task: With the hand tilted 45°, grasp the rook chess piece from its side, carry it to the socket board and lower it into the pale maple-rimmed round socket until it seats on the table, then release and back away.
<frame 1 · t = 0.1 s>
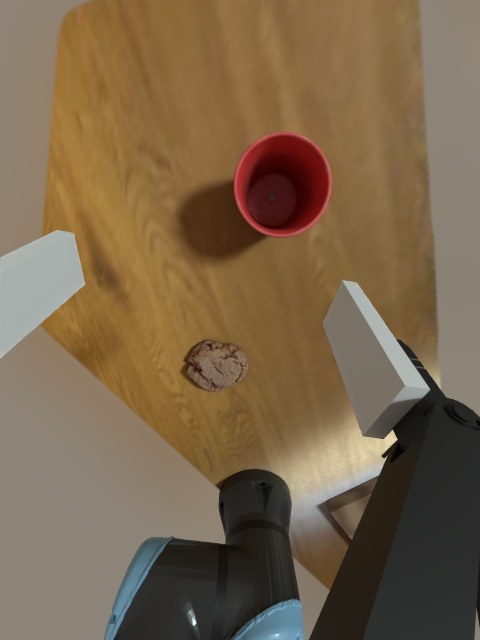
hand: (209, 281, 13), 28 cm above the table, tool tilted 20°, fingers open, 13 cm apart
cookie: (218, 362, 46), on the table
socket board: (373, 512, 56), on the table
flower pot: (271, 200, 37), on the table
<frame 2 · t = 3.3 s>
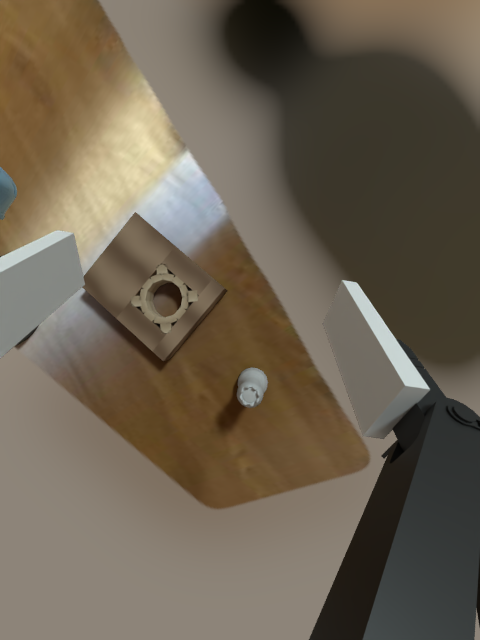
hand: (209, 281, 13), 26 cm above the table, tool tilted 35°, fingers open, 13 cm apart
socket board: (156, 288, 40), on the table
rook chess piece: (252, 381, 39), on the table
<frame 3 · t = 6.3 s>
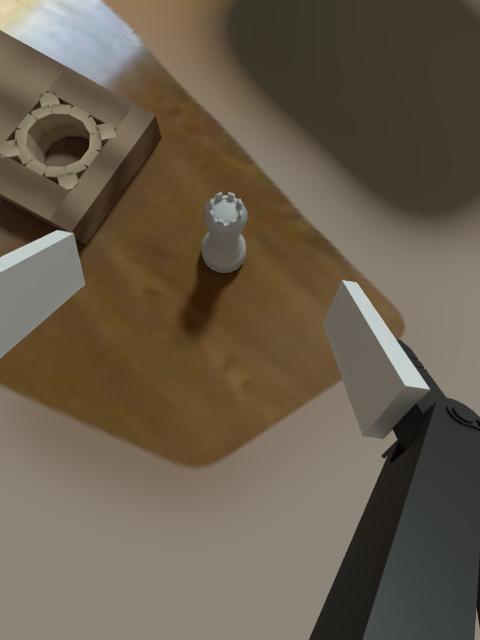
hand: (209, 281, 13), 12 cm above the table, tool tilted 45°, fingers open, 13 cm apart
socket board: (47, 146, 26), on the table
rook chess piece: (223, 254, 26), on the table
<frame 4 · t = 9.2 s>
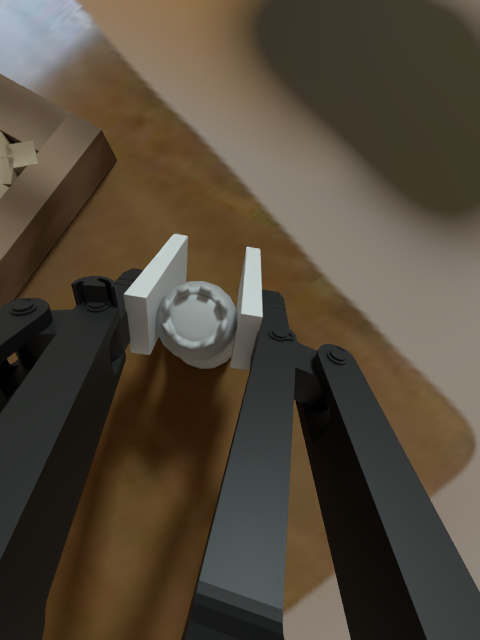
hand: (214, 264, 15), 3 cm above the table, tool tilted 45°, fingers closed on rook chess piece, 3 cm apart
rook chess piece: (206, 335, 17), on the table, touching gripper
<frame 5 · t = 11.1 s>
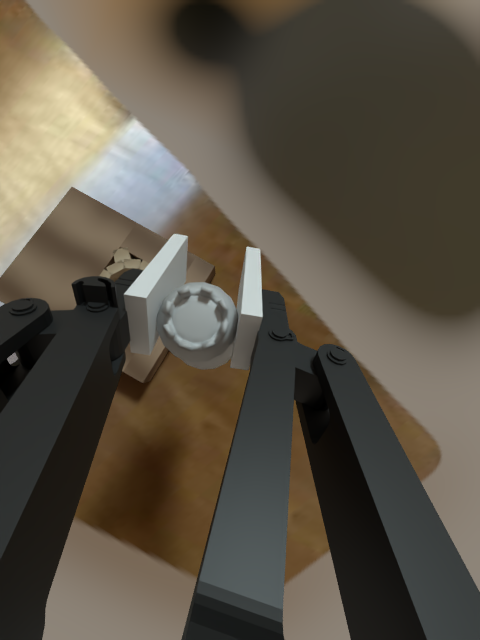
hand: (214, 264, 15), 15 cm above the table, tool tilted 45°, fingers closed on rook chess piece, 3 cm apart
socket board: (115, 286, 29), on the table
rook chess piece: (206, 336, 17), point 11 cm above the table, touching gripper
when the fingers open (5 cm above the table, at t = 13.4 s): rook chess piece drops 2 cm, resting in socket board.
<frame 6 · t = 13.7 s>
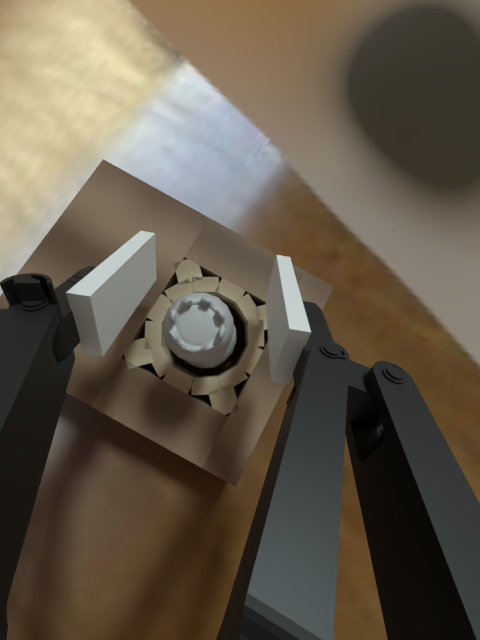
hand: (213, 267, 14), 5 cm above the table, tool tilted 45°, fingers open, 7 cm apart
socket board: (171, 317, 19), on the table
rook chess piece: (206, 337, 19), resting in socket board
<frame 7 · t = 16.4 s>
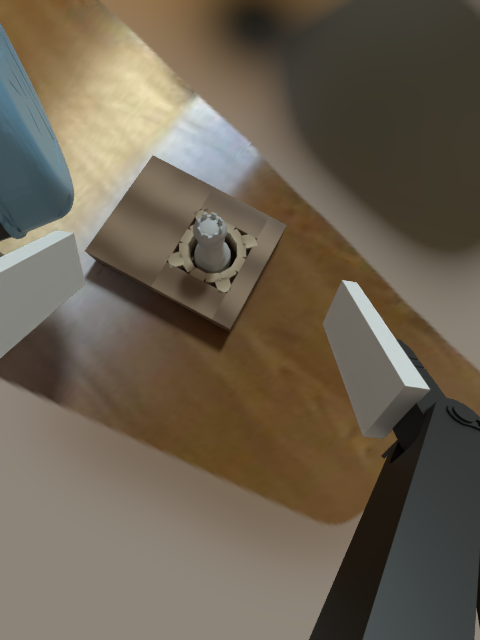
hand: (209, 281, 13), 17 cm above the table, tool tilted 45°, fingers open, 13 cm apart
socket board: (192, 247, 31), on the table
rook chess piece: (213, 260, 31), resting in socket board
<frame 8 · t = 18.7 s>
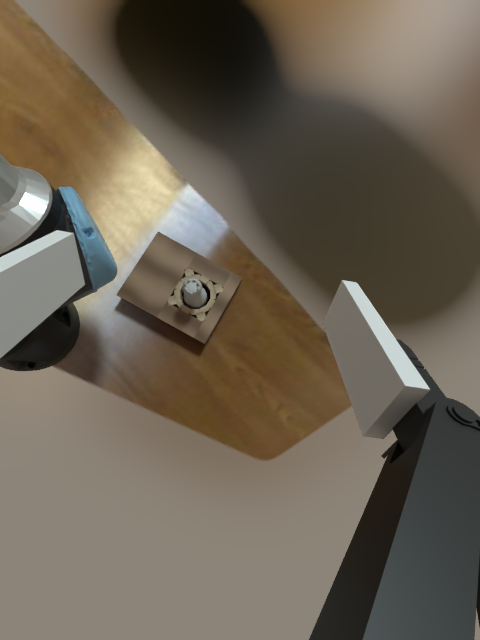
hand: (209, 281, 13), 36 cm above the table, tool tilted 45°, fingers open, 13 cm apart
socket board: (182, 289, 49), on the table
rook chess piece: (196, 298, 49), resting in socket board
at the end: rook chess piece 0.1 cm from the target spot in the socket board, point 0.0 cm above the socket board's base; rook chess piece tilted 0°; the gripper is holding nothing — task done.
